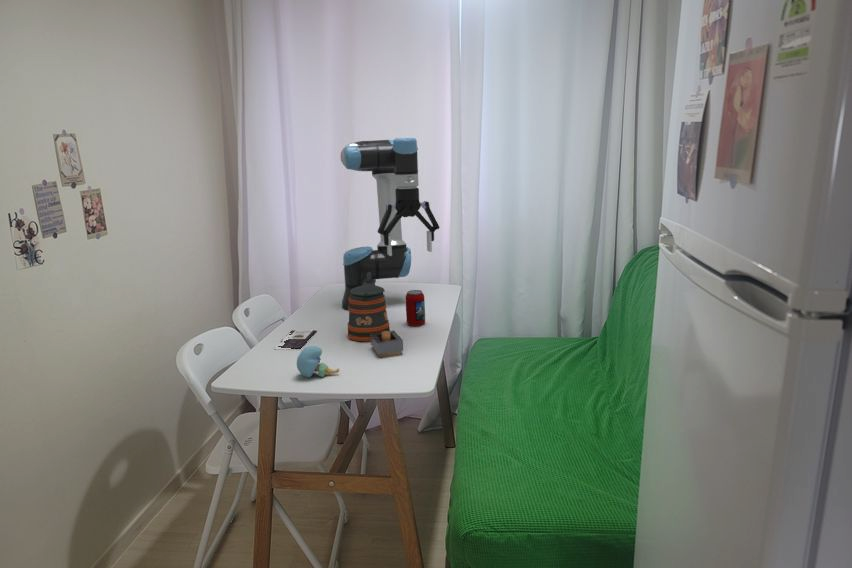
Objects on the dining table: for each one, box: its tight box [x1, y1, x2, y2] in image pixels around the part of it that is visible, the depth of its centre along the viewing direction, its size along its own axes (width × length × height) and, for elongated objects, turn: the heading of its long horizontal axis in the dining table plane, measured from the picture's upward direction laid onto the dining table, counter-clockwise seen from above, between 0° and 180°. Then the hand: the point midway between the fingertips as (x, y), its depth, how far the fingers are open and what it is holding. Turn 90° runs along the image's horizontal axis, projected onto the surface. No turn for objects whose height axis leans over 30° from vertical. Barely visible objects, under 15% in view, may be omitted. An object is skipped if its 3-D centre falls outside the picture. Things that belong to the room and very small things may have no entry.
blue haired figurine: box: [296, 345, 340, 379], centre depth 175 cm, size 7×9×12 cm
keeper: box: [371, 331, 403, 359], centre depth 193 cm, size 10×7×6 cm
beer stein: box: [347, 272, 391, 343], centre depth 209 cm, size 19×15×20 cm
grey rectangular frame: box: [370, 330, 404, 355], centre depth 193 cm, size 10×8×4 cm
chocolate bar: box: [278, 329, 318, 350], centre depth 207 cm, size 9×1×18 cm
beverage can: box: [405, 289, 426, 327], centre depth 218 cm, size 7×7×12 cm
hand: (409, 253), depth 199 cm, fingers open, 13 cm apart
